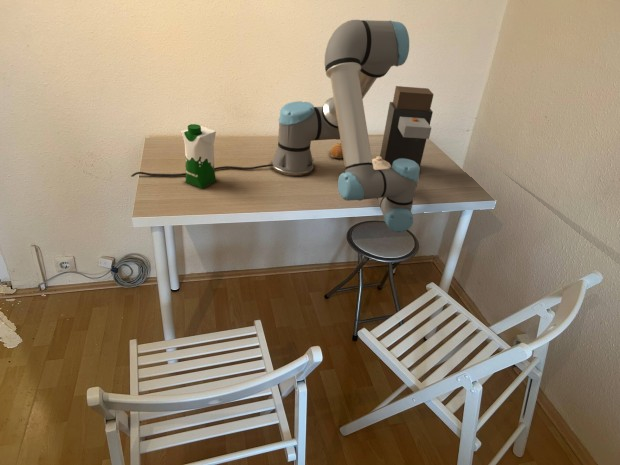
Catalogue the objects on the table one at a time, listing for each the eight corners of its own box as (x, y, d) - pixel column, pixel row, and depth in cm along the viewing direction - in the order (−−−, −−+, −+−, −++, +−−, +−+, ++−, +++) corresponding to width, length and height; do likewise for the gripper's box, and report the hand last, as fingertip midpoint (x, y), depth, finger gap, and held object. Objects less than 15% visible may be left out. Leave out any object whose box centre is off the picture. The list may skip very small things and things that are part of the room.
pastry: (343, 161, 184) (344, 152, 182) (326, 157, 185) (327, 148, 183) (349, 152, 191) (350, 143, 189) (333, 149, 193) (334, 140, 191)
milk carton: (181, 182, 157) (178, 124, 147) (200, 173, 164) (198, 117, 153) (202, 190, 154) (199, 132, 143) (220, 181, 161) (219, 124, 150)
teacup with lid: (389, 194, 162) (396, 163, 156) (364, 194, 161) (369, 162, 155) (380, 178, 172) (386, 148, 166) (356, 178, 171) (361, 147, 165)
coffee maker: (424, 184, 173) (444, 103, 156) (387, 182, 171) (403, 100, 155) (413, 164, 187) (430, 88, 171) (378, 162, 186) (392, 85, 170)
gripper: (347, 205, 144) (340, 174, 162) (427, 209, 146) (411, 178, 164) (350, 183, 140) (342, 153, 158) (432, 187, 142) (415, 158, 160)
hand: (377, 166), depth 161 cm, fingers open, 13 cm apart
